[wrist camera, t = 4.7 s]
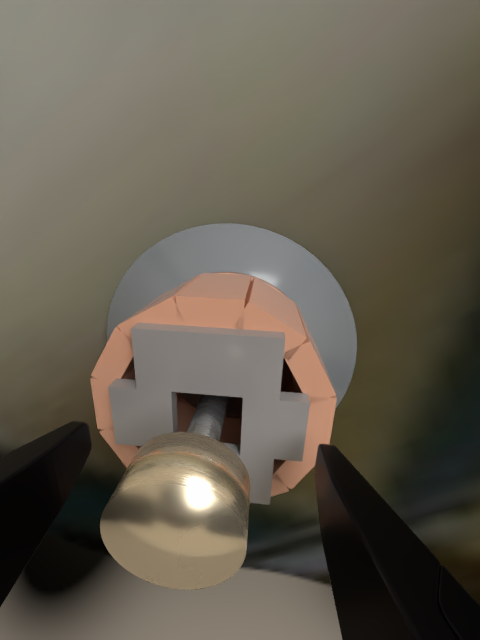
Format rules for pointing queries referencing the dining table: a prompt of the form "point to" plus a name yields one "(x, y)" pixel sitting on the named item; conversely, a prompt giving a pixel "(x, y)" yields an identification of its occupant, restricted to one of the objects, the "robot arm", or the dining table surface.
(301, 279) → the disc
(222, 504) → the plunger
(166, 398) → the orange slatted barrel
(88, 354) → the dining table surface
